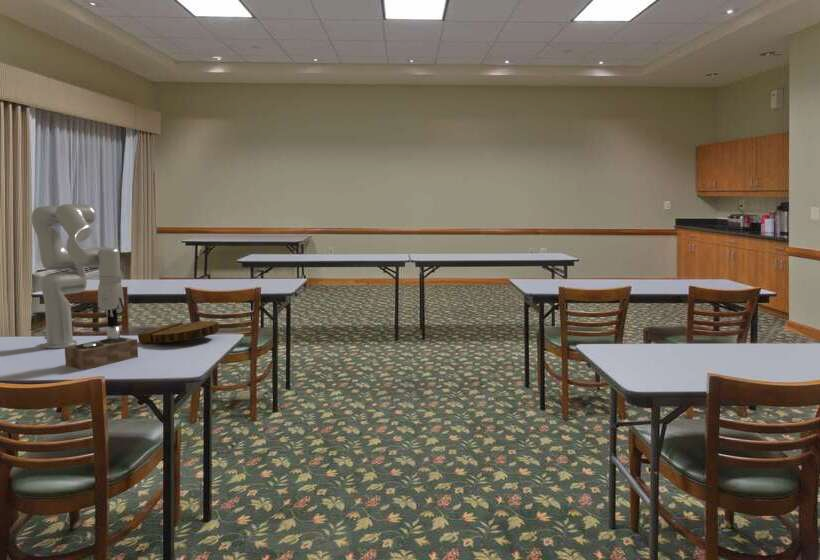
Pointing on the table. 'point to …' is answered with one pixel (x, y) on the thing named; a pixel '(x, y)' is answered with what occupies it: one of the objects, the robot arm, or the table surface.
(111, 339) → the peg far
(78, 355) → the socket block
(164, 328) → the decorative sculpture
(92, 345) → the peg near
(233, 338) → the table surface
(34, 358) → the table surface
